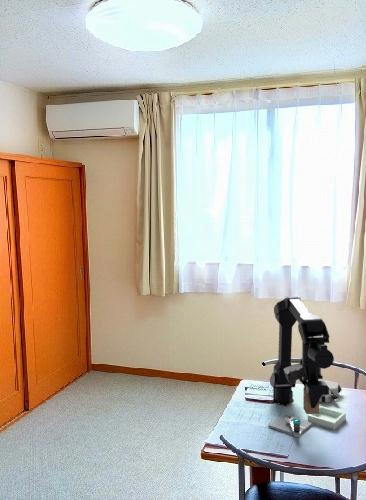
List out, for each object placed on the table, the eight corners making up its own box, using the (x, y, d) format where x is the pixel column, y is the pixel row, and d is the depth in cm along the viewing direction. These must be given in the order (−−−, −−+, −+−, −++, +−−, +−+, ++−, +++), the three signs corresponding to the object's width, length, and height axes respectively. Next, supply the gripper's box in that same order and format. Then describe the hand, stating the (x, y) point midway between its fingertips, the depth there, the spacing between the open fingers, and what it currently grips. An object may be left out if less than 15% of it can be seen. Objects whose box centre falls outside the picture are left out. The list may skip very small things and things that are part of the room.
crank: (284, 420, 160) (284, 406, 159) (294, 420, 160) (294, 405, 159) (292, 438, 148) (292, 422, 147) (303, 438, 148) (303, 422, 147)
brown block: (303, 408, 150) (303, 387, 149) (315, 408, 149) (316, 387, 149) (306, 414, 146) (306, 392, 145) (319, 413, 145) (319, 392, 145)
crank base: (268, 427, 158) (268, 424, 158) (284, 415, 166) (284, 413, 166) (297, 437, 150) (297, 434, 150) (313, 424, 159) (313, 422, 159)
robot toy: (340, 409, 172) (342, 391, 186) (340, 398, 172) (342, 380, 185) (306, 404, 177) (310, 387, 191) (306, 393, 176) (310, 377, 190)
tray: (307, 422, 161) (307, 415, 160) (319, 412, 168) (319, 405, 168) (334, 430, 154) (334, 423, 154) (345, 419, 162) (345, 413, 161)
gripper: (280, 348, 155) (280, 393, 157) (292, 368, 137) (292, 418, 138) (313, 348, 155) (313, 392, 157) (330, 367, 136) (329, 418, 138)
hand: (311, 405), depth 147 cm, fingers closed on brown block, 4 cm apart
